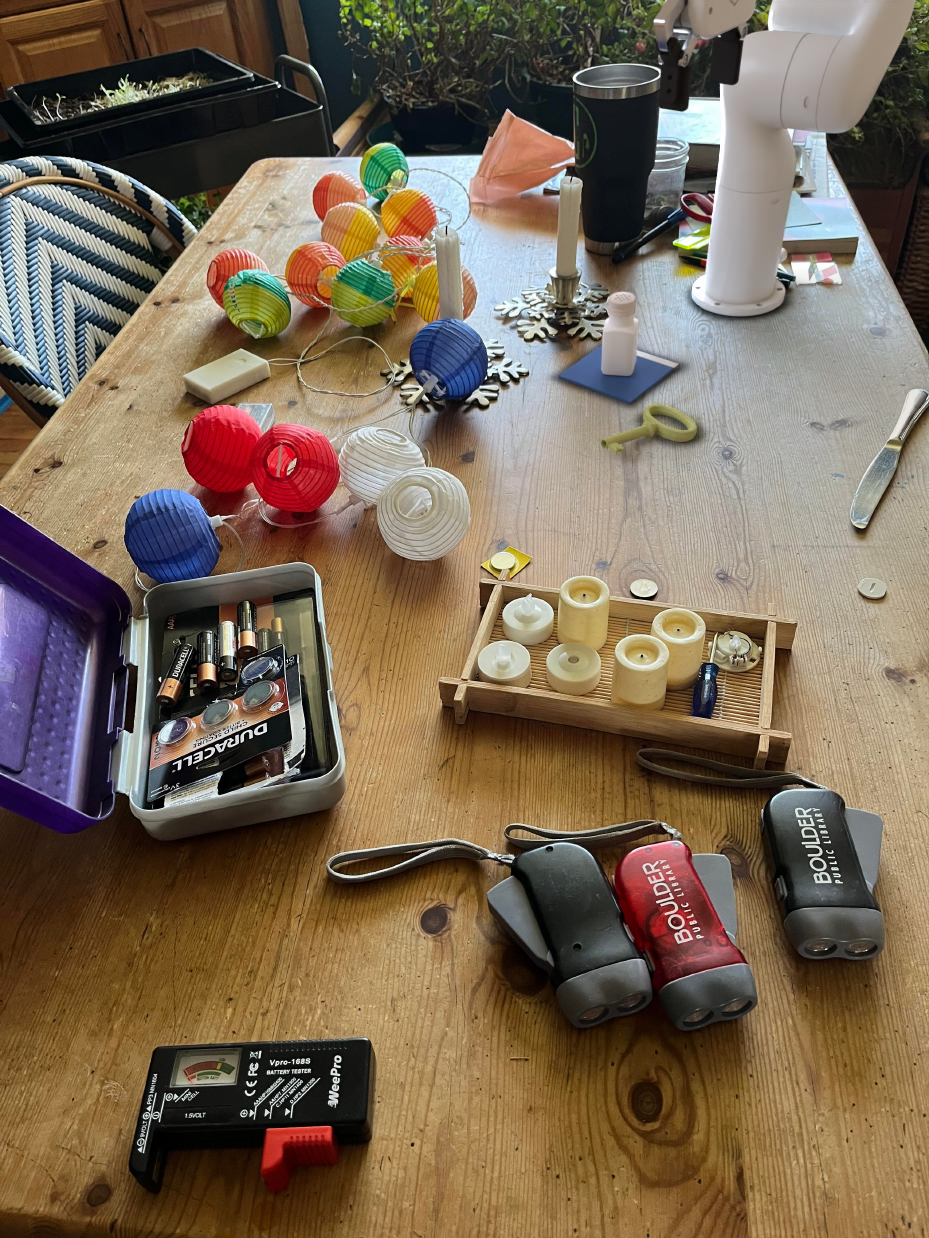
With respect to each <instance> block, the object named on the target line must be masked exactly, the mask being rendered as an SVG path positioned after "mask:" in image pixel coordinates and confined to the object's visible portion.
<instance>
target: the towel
mask: <svg viewBox="0 0 929 1238" xmlns="http://www.w3.org/2000/svg"><path fill="white" fill-rule="evenodd" d="M601 364H602V344H601V345H599V346H598V347H596V348H594V349H593V350H592V351H590V353H588V354H586V355H585V356H584V357H582V358H580V359H579V360H578V361H576V362H575V363H573V364H572V365H571V366H569V367H568V368H566V369H565V370H563V371H562V372H561V373H560V374H558V377H557V378H558V379H560V380H562V381H566V382H568V383H571V384H573V385H577V386H580V387H582V388H585V389H587V390H590V391H592V392H595V393H599V394H601V395H603V396H606V397H609V398H612V399H614V400H617V401H620V402H623V403H625V404H628V405H632V404H633V403H634V402H635V401H637V400H638V399H639V398H641V397H642V396H643V395H645V394H646V393H647V392H648V391H650V390H651V389H652V388H654V387H655V386H656V385H657V384H659V383H660V382H661V381H662V380H664V379H665V378H666V377H668V376H669V375H670V374H671V373H672V372H674V371H675V370H677V369H678V368H679V367H680V365H681V363H680V362H677V361H674V360H671V359H669V358H665V357H662V356H659V355H657V354H653V353H650V352H647V351H643V350H641V349H638V348H637V356H636V363H635V367H634V370H633V373H632V375H630V376H619V375H605V374H603V373H602V370H601Z"/></svg>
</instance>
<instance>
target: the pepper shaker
mask: <svg viewBox="0 0 929 1238" xmlns="http://www.w3.org/2000/svg"><path fill="white" fill-rule="evenodd" d="M636 303H637V297H636V295H635V294H633V293H632V292H629V291H616V292H614V293H611V294H610V296H609V297H608V309H607V311H608V312H607V313H608V317H606V319H605V322H604V324H603V328H602V339H601V340H602V342H601V345H602V364H601V370H602V373H603V374H605V375H619V376H630V375H632V373H633V370H634V367H635V363H636V356H637V349H638V341H639V339H638V338H639V326H640V325H639V324H640V320H639V319H637V318H636V317H635V313H636Z"/></svg>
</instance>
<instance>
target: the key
mask: <svg viewBox="0 0 929 1238" xmlns="http://www.w3.org/2000/svg"><path fill="white" fill-rule="evenodd" d="M654 415H663V416H667V417H671V418H673V419H676V420H677V421H679V422H680V423H682V424H683V425H684V426H685V427H686V429H683V430H682V429H676V428H673V427H670V426H668V425H665V424H664V423H662V422H660V421H659V420H658V419H656V418H655V417H654ZM642 421H643V422H642V425H641V426H638V427H635V428H632V429H629V430H625V431H622V432H619V433H617V434H613V435H610V436H608V437H605V438H601V440H600V446H601V448H602V449H603V450H610V451H611V452H612V453H614V454H615V455H617V454H618V453H622V452H624V451H625V447H624V446H622V445H623V444H626V443H628V442H631V441H635V440H637V439H641V438H643V437H645V438H647V439H651V438H653V436H654V435H655V434H657V436H660V437H662V438H663V439H666V440H668V441H669V440H670V441H672V442H679V443H684V442H689V441H691V440H694V438H695V436H696V435H697V432H698V427H697V423H696V422H695V421H694V420H693V418H692V417H690V416H689V415H687V414H686V413H684V412H682V411H681V410H679V409H677V408H674V407H672V406H669V405H666V404H662V403H651V404H649V405H647V406H645V408H644V410H643V413H642Z"/></svg>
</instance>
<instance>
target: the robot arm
mask: <svg viewBox="0 0 929 1238" xmlns="http://www.w3.org/2000/svg"><path fill="white" fill-rule="evenodd" d="M756 1H757V0H664V4H663V6H662V7H661V9H659V11H658V13H657V14H656V16H655V17H654V19H653V24H652V25H653V31H654V35H655V36H654V37H655V49H656V50H655V51H656V52H657V53H658V57H657V58H658V60H657V61H658V64H659V65H660V76H659V87H658V89H659V90H658V101H657V102H658V104H657V106H658V108H659V109H661V110H662V109H663V110H667V111H675V112H680V113H684V112H685V111H688V109H689V105H690V104H689V103H690V95H691V83H692V74H693V65H692V64H689V62H690V59H691V57H692V55H693V52H694V50H695V48H696V45H697V42H698V40H699V38H700V39H702V40H711V39H712V47H711V58H710V66H709V76H708V80H709V82H710V83H711V84H719V85H720V86H719V91H720V92H719V93H720V114H721V117H720V119H721V136H720V149H719V159H718V167H717V176H716V183H715V192H714V200H713V207H712V215H711V216H712V217H711V225H710V232H709V241H708V247H707V248H708V249H707V256H706V257H707V258H706V265H705V272H704V275H702V276H700V277H698V279H697V280H695V282H694V283H693V284H692V288H691V298H692V300H693V302H694V303H695V304H696V305H698V306H699V307H700V308H701V309H704V310H705V311H708V312H710V313H714V314H716V315H721V316H729V317H752V316H759V315H763V314H766V313H769V312H772V311H774V310H775V309H776V308H778V307H780V306H781V305H782V304H783V302H784V300H785V296H786V287H785V285H784V284H783V282H781V280H779V279H778V278H777V275H778V271H779V266H780V265H781V263H783V262H784V261H786V259H787V258H788V251H787V249H785V248H784V247H783V242H784V239H785V232H786V227H787V221H788V216H789V209H790V204H791V198H792V193H793V188H794V182H795V178H796V172H797V154H796V149H795V146H794V142H793V140H792V137H791V134H790V133H789V130H797V131H805V132H814V133H823V134H843V133H846V132H849V131H850V130H852V129H853V128H854V127H855V126H856V125H858V123H859V122H860V121H861V119H862V118H863V116H864V115H865V114H866V111H867V110H868V108H869V107H870V104H871V103H872V101H873V98H874V96H875V94H876V93H877V90H878V88H879V86H880V85H881V82H882V81H883V78H884V77H885V74H886V72H887V70H888V68H889V66H890V64H891V62H892V60H893V58H894V56H895V54H896V52H897V50H898V48H899V47H900V44H901V43H902V40H903V38H904V35H905V33H906V31H907V28H908V27H909V24H910V21H911V19H912V15H913V12H914V8H915V4H916V0H772V1H771V5H770V7H769V11H768V16H767V23H768V24H767V25H768V30H759V31H755V32H751V33H749V34H748V22H749V20H750V19H751V17H752V16H753V14H754V13H755V9H756ZM679 40H681V41H682V40H683V41H684V42H683V45H682V47H681V45H680V43H679ZM788 129H789V130H788Z"/></svg>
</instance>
